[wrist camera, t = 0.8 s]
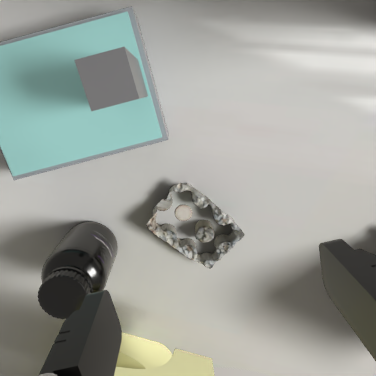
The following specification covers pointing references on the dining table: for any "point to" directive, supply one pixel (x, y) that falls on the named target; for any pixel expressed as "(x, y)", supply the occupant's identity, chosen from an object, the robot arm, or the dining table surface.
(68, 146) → the lid
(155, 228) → the egg carton
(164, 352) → the slatted curved stool
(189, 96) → the dining table surface
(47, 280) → the supplement bottle
